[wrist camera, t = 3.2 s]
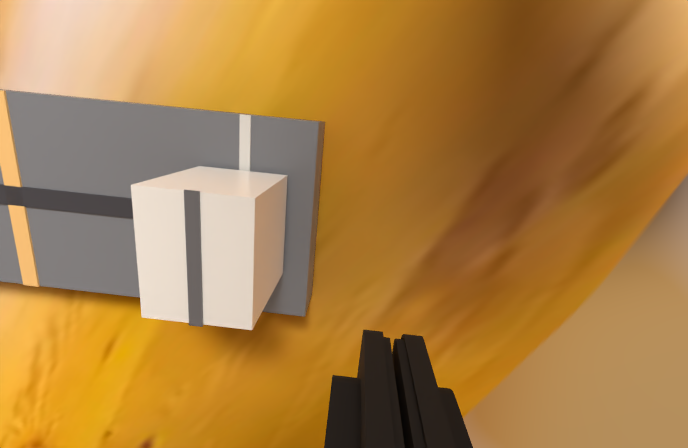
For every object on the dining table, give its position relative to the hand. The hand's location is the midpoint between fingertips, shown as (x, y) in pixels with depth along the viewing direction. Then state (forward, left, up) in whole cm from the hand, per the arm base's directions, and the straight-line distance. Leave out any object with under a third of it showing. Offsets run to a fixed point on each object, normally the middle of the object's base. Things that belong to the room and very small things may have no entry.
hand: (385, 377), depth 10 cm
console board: (+17, -1, -14) cm, 22 cm away
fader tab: (+8, -1, -11) cm, 13 cm away
